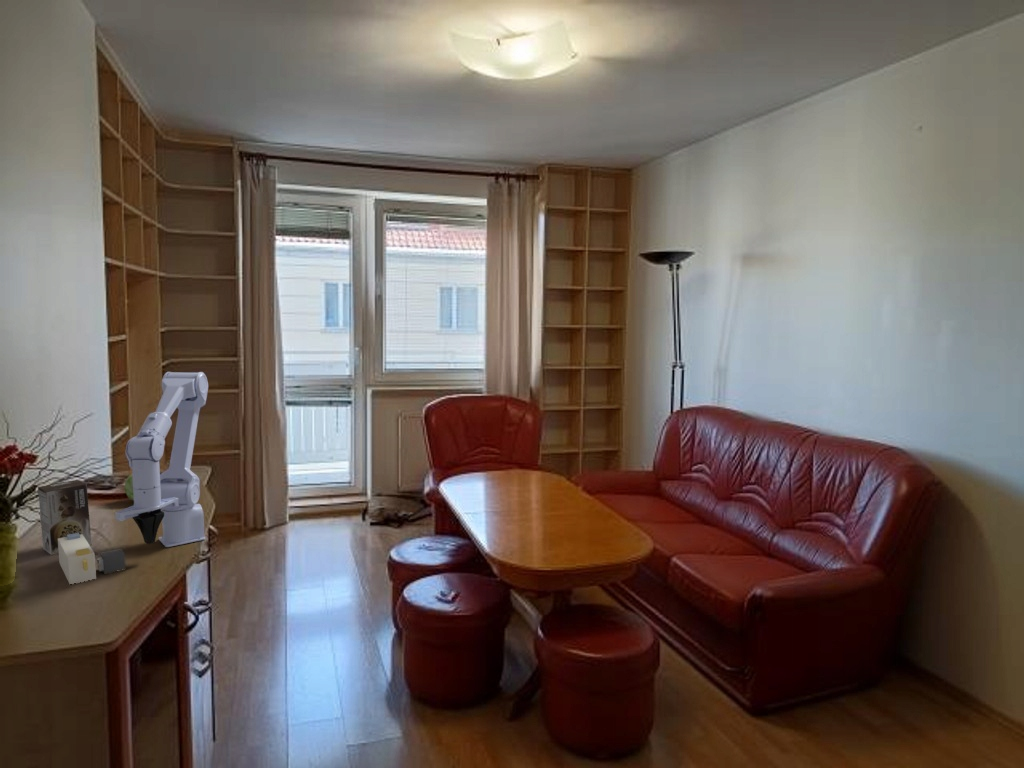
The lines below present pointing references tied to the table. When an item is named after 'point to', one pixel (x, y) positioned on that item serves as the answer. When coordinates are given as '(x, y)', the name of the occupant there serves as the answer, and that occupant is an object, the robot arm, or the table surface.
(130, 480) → the decorative ball
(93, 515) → the table surface
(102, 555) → the plug
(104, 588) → the table surface
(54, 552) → the coffee box
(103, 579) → the table surface
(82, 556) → the socket box
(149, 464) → the robot arm
